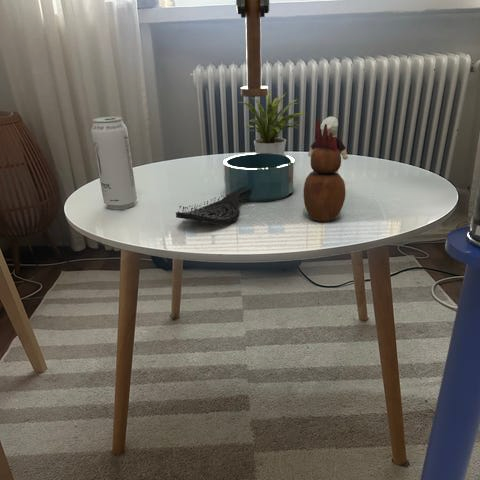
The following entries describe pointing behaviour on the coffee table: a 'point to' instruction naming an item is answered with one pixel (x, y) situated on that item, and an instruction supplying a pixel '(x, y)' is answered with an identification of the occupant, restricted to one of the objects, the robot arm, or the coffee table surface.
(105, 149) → the energy drink can
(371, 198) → the coffee table surface
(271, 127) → the house plant
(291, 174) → the bowl
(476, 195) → the robot arm
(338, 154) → the wooden figurine
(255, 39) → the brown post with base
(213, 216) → the hairbrush
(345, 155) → the grandmother figurine
